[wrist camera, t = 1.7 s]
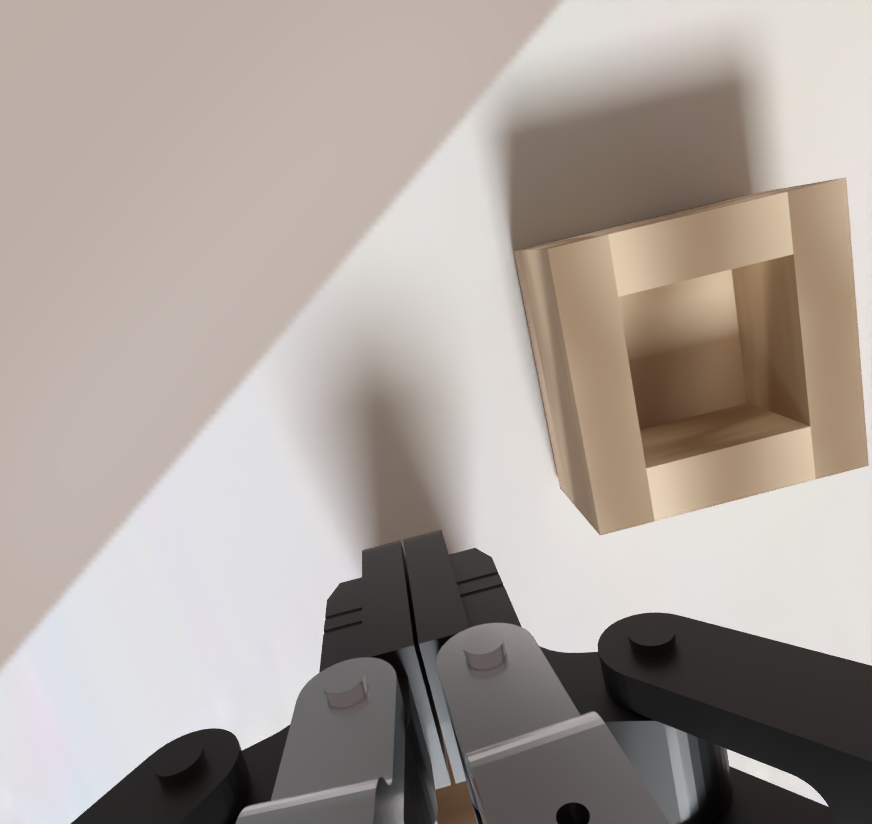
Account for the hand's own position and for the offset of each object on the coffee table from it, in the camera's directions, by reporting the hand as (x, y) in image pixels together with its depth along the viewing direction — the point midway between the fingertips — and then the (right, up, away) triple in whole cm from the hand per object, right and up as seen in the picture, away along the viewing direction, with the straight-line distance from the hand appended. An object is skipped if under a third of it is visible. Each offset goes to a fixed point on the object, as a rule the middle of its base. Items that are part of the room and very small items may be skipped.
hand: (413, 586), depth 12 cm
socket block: (+9, +6, +15) cm, 19 cm away
